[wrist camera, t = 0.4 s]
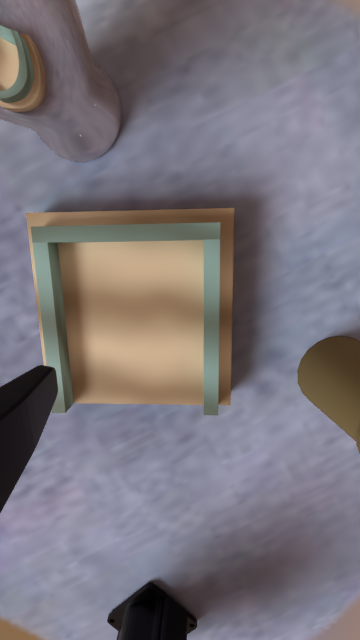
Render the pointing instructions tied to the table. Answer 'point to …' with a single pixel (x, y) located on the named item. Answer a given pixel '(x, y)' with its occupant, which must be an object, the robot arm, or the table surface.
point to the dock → (136, 305)
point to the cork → (334, 381)
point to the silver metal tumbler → (55, 79)
